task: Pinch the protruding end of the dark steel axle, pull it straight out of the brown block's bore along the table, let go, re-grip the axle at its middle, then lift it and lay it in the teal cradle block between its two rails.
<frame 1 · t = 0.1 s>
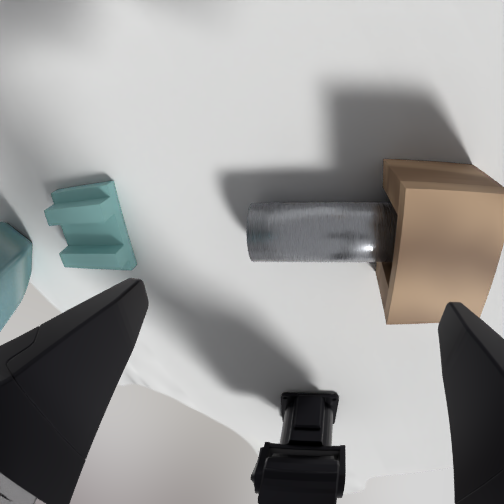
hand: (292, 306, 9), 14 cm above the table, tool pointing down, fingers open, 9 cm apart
axle: (353, 218, 22), on the table
flower pot: (20, 245, 31), on the table
cradle: (95, 226, 27), on the table
brown block: (425, 220, 21), on the table
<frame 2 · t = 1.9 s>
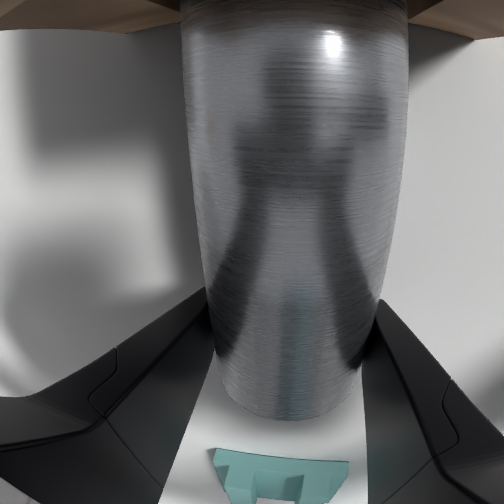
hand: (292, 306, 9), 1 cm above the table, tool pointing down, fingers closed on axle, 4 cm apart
axle: (303, 88, 7), on the table, touching gripper
cradle: (279, 475, 18), on the table
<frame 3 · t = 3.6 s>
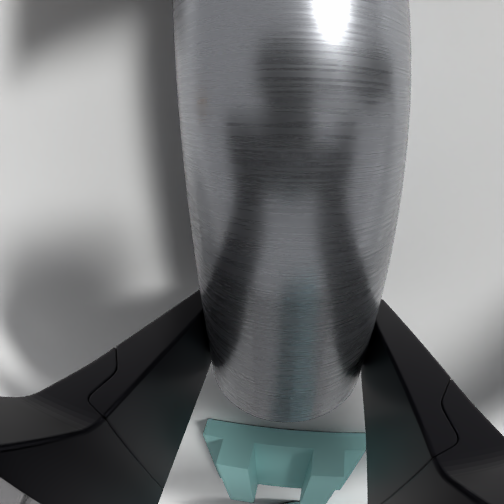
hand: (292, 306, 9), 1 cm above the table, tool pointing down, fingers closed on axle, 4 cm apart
axle: (299, 74, 7), on the table, touching gripper
cradle: (283, 455, 16), on the table
when the fingers open (1 cm above the table, at t = 4.8 s): axle stays where it is, on the table.
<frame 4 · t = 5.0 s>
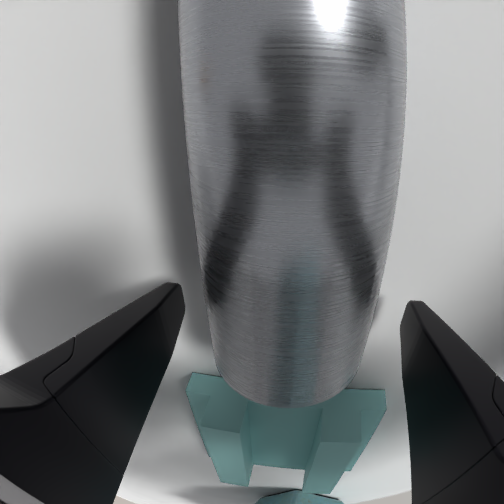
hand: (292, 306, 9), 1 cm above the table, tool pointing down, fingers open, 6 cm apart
axle: (299, 63, 7), on the table
flower pot: (300, 496, 21), on the table
cradle: (284, 425, 14), on the table
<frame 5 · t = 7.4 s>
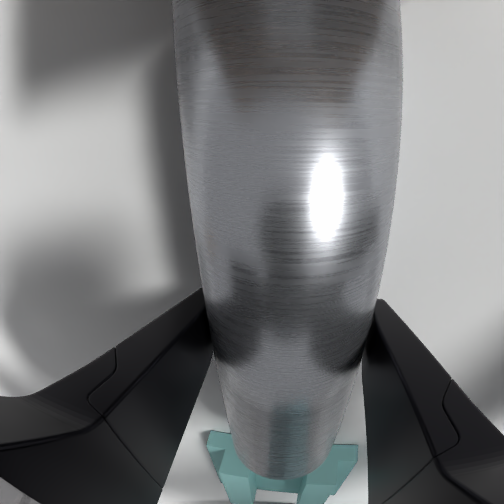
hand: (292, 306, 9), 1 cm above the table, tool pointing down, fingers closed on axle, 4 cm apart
axle: (286, 261, 9), on the table, tilted 8°, touching gripper
cradle: (281, 463, 17), on the table
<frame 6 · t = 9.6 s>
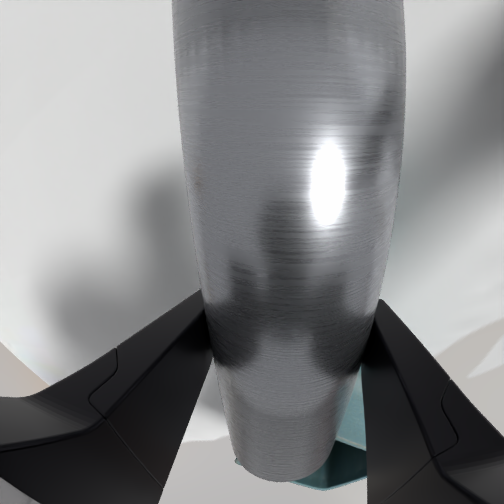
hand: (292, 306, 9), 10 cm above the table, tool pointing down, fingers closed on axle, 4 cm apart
axle: (285, 261, 9), point 9 cm above the table, tilted 10°, touching gripper
flower pot: (327, 368, 25), on the table
when the fingers open (4 cm above the table, at t = 11.1 s): axle stays where it is, resting on cradle.
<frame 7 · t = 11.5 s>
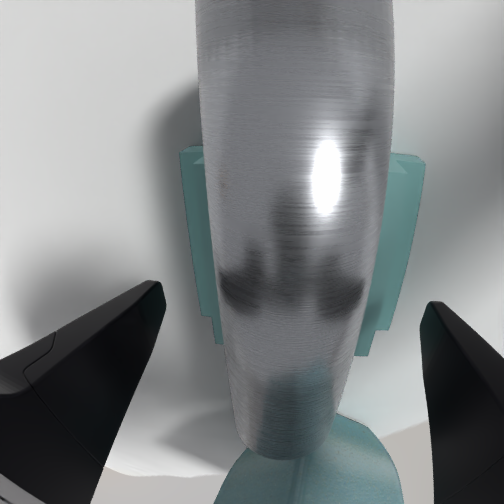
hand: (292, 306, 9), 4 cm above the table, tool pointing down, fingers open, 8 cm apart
axle: (291, 246, 10), point 2 cm above the table, tilted 6°, touching cradle
flower pot: (316, 425, 19), on the table
cradle: (300, 238, 12), on the table
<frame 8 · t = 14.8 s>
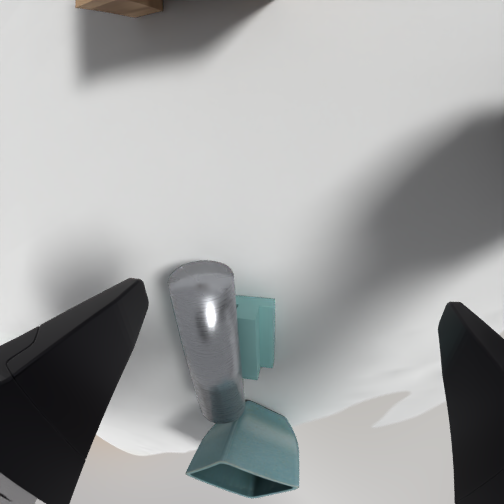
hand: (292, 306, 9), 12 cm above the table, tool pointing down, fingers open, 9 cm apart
axle: (217, 336, 25), point 2 cm above the table, tilted 7°, touching cradle
flower pot: (255, 413, 33), on the table
cradle: (226, 327, 26), on the table
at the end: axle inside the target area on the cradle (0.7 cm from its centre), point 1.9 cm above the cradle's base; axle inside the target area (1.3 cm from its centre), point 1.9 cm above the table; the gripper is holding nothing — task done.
